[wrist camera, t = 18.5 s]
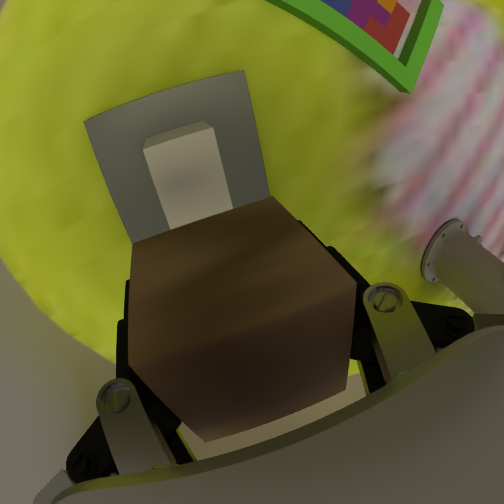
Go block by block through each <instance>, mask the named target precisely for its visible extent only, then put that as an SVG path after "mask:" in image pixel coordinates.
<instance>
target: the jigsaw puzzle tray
mask: <svg viewBox="0 0 504 504" xmlns="http://www.w3.org/2000/svg"><path fill="white" fill-rule="evenodd" d="M266 1H268V2H270V3H272V4H274V5H276V6H278V7H280V8H282V9H284V10H285V11H287V12H289V13H291V14H293V15H295V16H296V17H298V18H300V19H302V20H303V21H305V22H307V23H308V24H310V25H312V26H313V27H315V28H317V29H318V30H320V31H321V32H323V33H325V34H326V35H328V36H329V37H331V38H332V39H334V40H335V41H337V42H338V43H340V44H341V45H343V46H344V47H345V48H347V49H348V50H350V51H351V52H352V53H354V54H355V55H356V56H358V57H359V58H360V59H362V60H363V61H364V62H366V63H367V64H368V65H370V66H371V67H372V68H373V69H375V70H376V71H377V72H378V73H380V74H381V75H382V76H383V77H384V78H386V79H387V80H388V81H389V82H390V83H391V84H393V85H394V86H395V87H396V88H397V89H398V90H399V91H400V92H405V93H410V94H411V93H412V90H413V88H414V86H415V83H416V81H417V78H418V76H419V73H420V71H421V68H422V66H423V63H424V61H425V58H426V55H427V53H428V50H429V47H430V45H431V42H432V39H433V36H434V34H435V31H436V28H437V25H438V22H439V19H440V16H441V13H442V10H443V7H444V5H443V3H442V2H441V1H440V0H422V2H421V4H420V7H419V10H418V12H417V15H416V18H415V20H414V23H413V25H412V28H411V30H410V33H409V35H408V38H407V40H406V42H405V45H404V47H403V50H402V52H401V55H400V57H399V59H396V58H395V57H394V56H393V54H394V52H395V49H396V47H397V45H398V42H399V40H400V38H401V35H402V33H403V30H404V28H405V25H406V23H407V20H408V18H409V16H410V14H409V13H408V12H407V11H406V10H405V9H404V8H403V7H402V6H401V5H400V4H399V3H398V2H397V0H266Z"/></svg>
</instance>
